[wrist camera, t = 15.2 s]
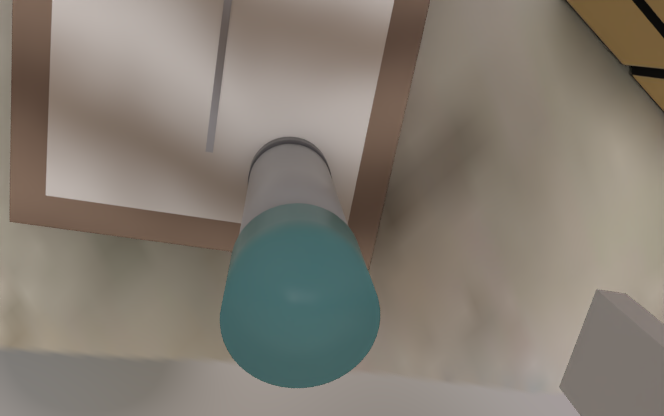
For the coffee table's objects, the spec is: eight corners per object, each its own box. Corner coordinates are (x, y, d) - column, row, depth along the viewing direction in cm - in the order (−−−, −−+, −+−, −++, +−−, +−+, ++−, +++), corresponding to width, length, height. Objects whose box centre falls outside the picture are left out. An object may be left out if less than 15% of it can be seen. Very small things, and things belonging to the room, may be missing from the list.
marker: (297, 118, 23) (317, 214, 12) (346, 183, 24) (410, 330, 13) (230, 169, 24) (185, 310, 12) (282, 230, 25) (286, 414, 13)
